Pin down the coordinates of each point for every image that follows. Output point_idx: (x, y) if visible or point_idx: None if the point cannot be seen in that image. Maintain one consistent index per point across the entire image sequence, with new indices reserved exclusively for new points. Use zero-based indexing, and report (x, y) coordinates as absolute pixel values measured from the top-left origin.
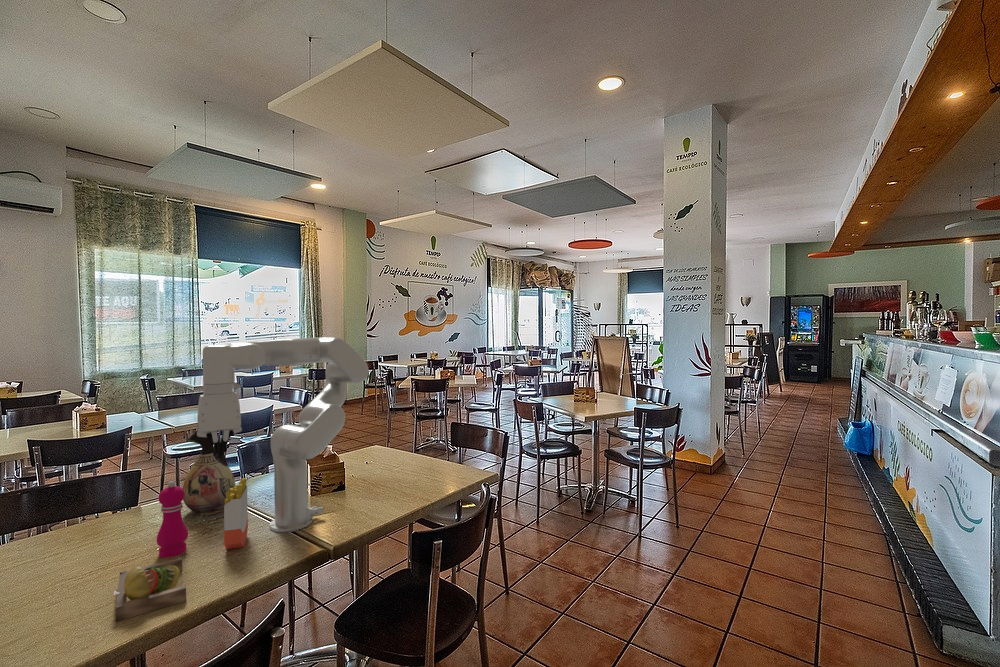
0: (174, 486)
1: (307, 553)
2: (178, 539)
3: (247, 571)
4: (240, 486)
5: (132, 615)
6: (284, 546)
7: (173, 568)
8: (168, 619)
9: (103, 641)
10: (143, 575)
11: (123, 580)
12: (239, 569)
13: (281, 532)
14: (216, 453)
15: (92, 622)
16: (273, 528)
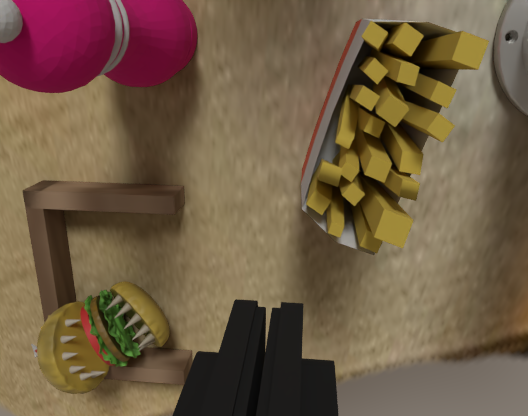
0: (24, 17)
1: (507, 322)
2: (156, 84)
3: (335, 317)
4: (394, 242)
5: None
6: (474, 231)
7: (148, 328)
8: (161, 408)
9: (62, 405)
10: (76, 393)
11: (42, 249)
12: (320, 293)
13: (515, 105)
14: (234, 308)
15: (26, 327)
16: (501, 73)
